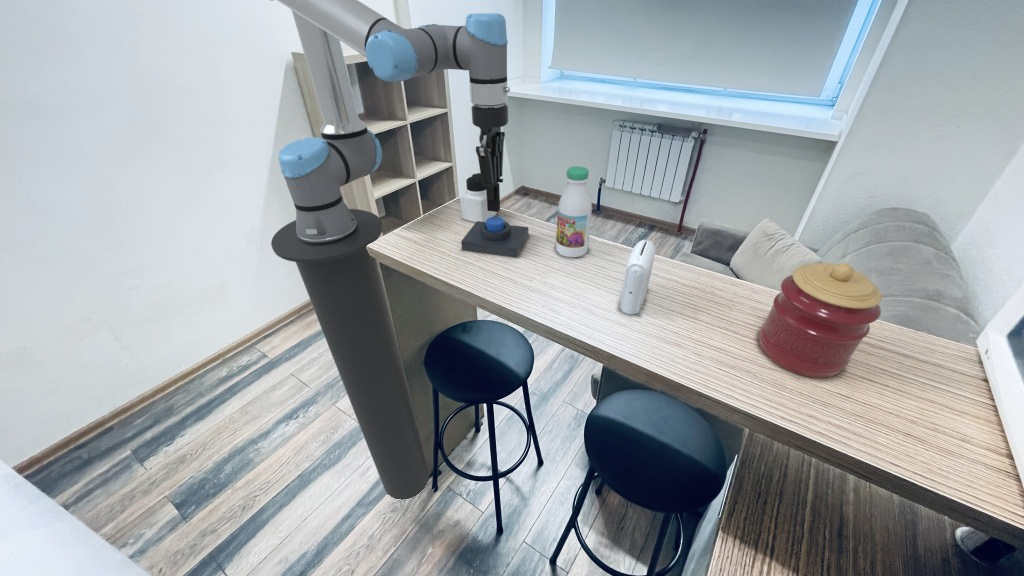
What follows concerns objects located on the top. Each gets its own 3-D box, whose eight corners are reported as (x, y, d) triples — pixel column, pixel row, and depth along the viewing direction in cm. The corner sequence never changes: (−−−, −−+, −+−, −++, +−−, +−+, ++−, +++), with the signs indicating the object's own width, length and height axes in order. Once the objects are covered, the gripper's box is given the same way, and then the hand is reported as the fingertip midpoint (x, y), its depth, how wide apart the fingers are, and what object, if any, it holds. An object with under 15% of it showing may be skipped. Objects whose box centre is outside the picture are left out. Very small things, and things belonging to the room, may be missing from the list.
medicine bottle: (497, 214, 115) (495, 173, 108) (482, 224, 110) (480, 182, 103) (476, 209, 118) (473, 169, 111) (461, 219, 113) (457, 177, 106)
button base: (462, 250, 100) (460, 233, 97) (477, 229, 108) (476, 214, 106) (517, 257, 96) (516, 240, 94) (528, 235, 105) (528, 220, 102)
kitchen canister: (838, 338, 72) (890, 253, 62) (850, 390, 63) (914, 300, 53) (756, 318, 77) (792, 236, 67) (756, 364, 68) (798, 277, 57)
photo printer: (639, 317, 78) (650, 263, 71) (616, 312, 79) (626, 258, 72) (648, 288, 85) (660, 236, 78) (628, 284, 87) (637, 232, 80)
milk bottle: (565, 239, 103) (570, 161, 91) (593, 247, 99) (602, 167, 88) (549, 252, 98) (553, 171, 86) (578, 261, 94) (586, 178, 83)
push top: (484, 231, 99) (483, 223, 97) (489, 223, 102) (489, 215, 101) (501, 233, 98) (501, 225, 96) (506, 225, 101) (506, 217, 100)
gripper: (497, 112, 77) (500, 224, 91) (515, 98, 87) (516, 200, 101) (460, 110, 79) (469, 220, 93) (482, 96, 89) (487, 197, 103)
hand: (493, 210), depth 97 cm, fingers closed
